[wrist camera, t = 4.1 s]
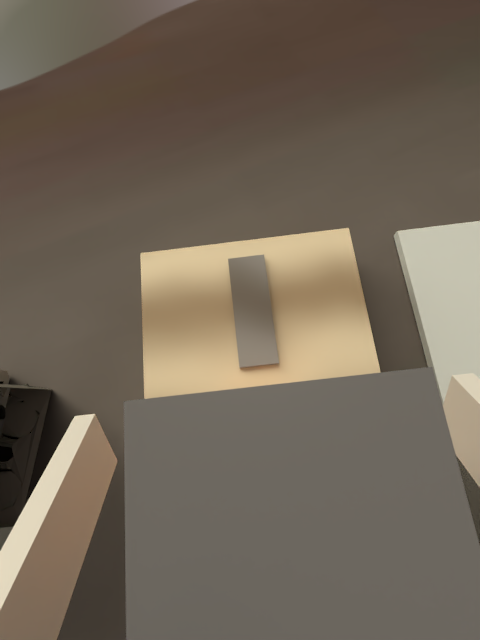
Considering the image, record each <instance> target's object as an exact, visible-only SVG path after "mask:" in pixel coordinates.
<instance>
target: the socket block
mask: <svg viewBox="0 0 480 640" xmlns="http://www.w3.org/2000/svg"><path fill="white" fill-rule="evenodd" d="M141 287H142V325H143V362H144V399H148V398H157V397H166V396H175V395H184V394H193V393H202V392H211V391H220V390H229V389H237V388H246V387H255V386H264V385H273V384H282V383H291V382H300V381H309V380H318V379H327V378H336V377H345V376H354V375H363V374H372V373H381V372H380V367H379V363H378V358H377V354H376V349H375V345H374V340H373V336H372V331H371V327H370V322H369V318H368V313H367V309H366V304H365V300H364V295H363V291H362V286H361V282H360V277H359V272H358V268H357V263H356V259H355V254H354V250H353V245H352V241H351V236H350V232H349V228H344V229H336V230H328V231H320V232H311V233H303V234H295V235H287V236H279V237H270V238H262V239H254V240H246V241H238V242H229V243H221V244H213V245H205V246H197V247H188V248H180V249H172V250H164V251H156V252H147V253H141Z"/></svg>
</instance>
